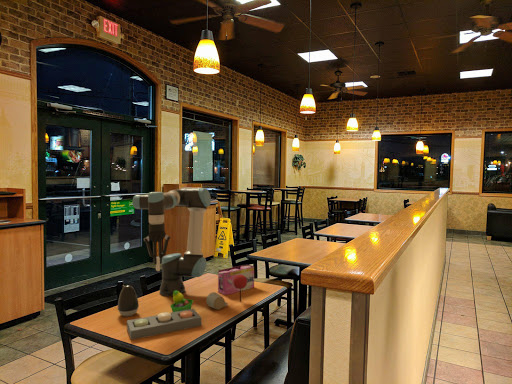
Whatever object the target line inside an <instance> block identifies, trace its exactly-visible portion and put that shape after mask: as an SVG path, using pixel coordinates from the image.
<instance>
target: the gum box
mask: <svg viewBox="0 0 512 384" xmlns="http://www.w3.org/2000/svg"><path fill="white" fill-rule="evenodd" d="M217 274H218V275H217V292H218V293H220V294H222V295H224V296H227V295H231V294H234V293H238V292H239V293H240V289H238V288H236V287H235V286H234V283H233V281H234V278H235V277H236V276H237V275H244V276H245V277H246V279H247V285H246V287H244V288H243V289H241V292H243V291H246V289H247V290H250V288H251V289H254V288H255V267H254V266H253V265H250V264H242V265H238V266H232V267H228V268H227V267H226V268H224V269H223V268H222V269H219V270H218V272H217ZM253 287H254V288H253ZM242 290H243V291H242Z"/></svg>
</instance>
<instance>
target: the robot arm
mask: <svg viewBox="0 0 512 384" xmlns="http://www.w3.org/2000/svg"><path fill="white" fill-rule="evenodd" d="M210 193H211V192H209V190H208V188H205V187H182V188H178V189H172V190H169V191H168V192H167V191H166V192H162V191H151V192H150V191H149V192H148V194H136V195H134V196H133V198H132V206H133V208H134V209H136V210H148V223H149V224H148V234H147V236H146V237H144V238H143V241H144V243H145V244H146V248H147V252H148V255H149V257H150V258H153V264H154V265H155V271H157V272H160V271H161V278H162V279H161V284H160V286H159V294H160V295H161V296H164V297H165V296H166V297H170V296H171V297H173V293H174V291H179V292H180V293H181V294H182V295H183V294H184V293H185V292H186V287H185V283H184V281H183V278H182V277H187V278H188V277H190V278H200V277H202V276H203V274H205V272H206V268H207V260H206V258H205V257H204V253H203V252H202V243H203V230H204V229H203V227H204V218H205V217H204V215H205V214H204V213H205V212H206V211H207V208H209V207H210V206H211V202H212V198H211V194H210ZM177 206H178V207H187V210H188V211H189V219H188V230H187V242H186V251H185V252H184V253H183V256H182V254H181V253H178V252H177V253H170V254H167V255H166V253H167V250H168V246H169V245H168V244H169V241H170V240H171V236H169V235H167V234H166V231H165V225H166V224H165V210H171V209H174V208H175V207H177ZM150 240H151V242H152V248H151V245H150ZM163 241H164V242H163ZM162 243H164V244H163V245H162ZM162 247H163V248H162ZM157 249H158V250H157ZM157 251H158V253H157ZM157 254H158V256H157Z"/></svg>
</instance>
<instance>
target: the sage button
mask: <svg viewBox="0 0 512 384" xmlns="http://www.w3.org/2000/svg"><path fill="white" fill-rule="evenodd" d="M138 319H139V318H138ZM134 323H135V327H141V326H146V325H148V320H147V319H139V320H136V321H135V322H134Z"/></svg>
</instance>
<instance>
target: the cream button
mask: <svg viewBox="0 0 512 384" xmlns="http://www.w3.org/2000/svg"><path fill="white" fill-rule="evenodd" d="M171 313H172V312H168V311H167V312H165V311H164V312H161V313H158V314H157V315H158V322H167V321H170V320H171Z"/></svg>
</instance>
